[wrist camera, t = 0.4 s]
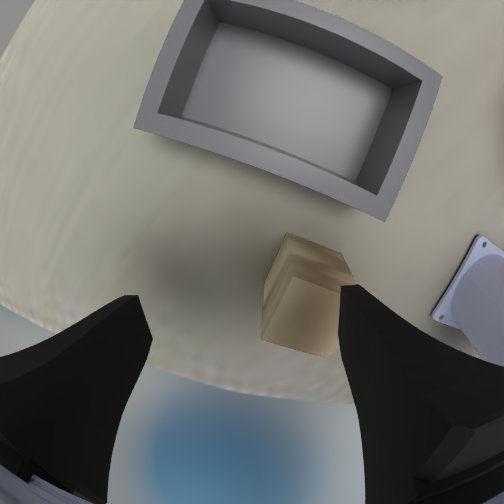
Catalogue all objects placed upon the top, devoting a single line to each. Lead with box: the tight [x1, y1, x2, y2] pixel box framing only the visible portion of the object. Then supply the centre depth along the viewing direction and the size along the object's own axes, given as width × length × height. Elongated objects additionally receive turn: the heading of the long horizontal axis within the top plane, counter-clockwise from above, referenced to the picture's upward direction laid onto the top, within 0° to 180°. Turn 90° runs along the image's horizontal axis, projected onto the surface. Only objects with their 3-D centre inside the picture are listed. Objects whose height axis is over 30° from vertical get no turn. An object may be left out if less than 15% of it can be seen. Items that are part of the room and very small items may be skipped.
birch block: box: [261, 233, 357, 358], centre depth 17 cm, size 4×4×6 cm
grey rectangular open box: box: [134, 0, 442, 222], centre depth 13 cm, size 13×8×4 cm, turn 69°
